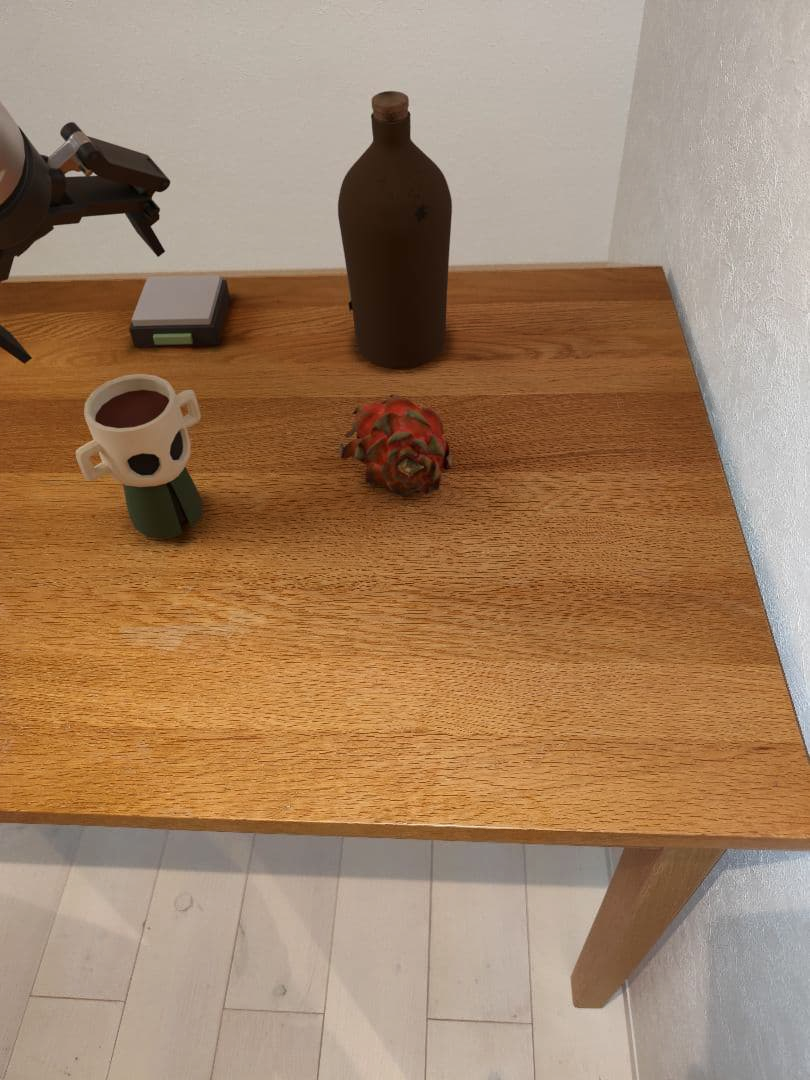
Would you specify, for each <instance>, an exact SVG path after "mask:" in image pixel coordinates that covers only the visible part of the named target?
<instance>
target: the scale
mask: <svg viewBox="0 0 810 1080" xmlns="http://www.w3.org/2000/svg"><path fill="white" fill-rule="evenodd" d="M230 295H231V294H230V291H229V286H228V282H227V279H223V278H222V275H221V274H220V275H218V274H217V275H213V274H212V275H174V276H172V275H171V276H147V277H146V280H145V282H144V285H143V289H142V290H141V294H140V297H139V298H138V301H137V303H136V307H135V309H134V311H133V315H132V317H131V322H130V325H129V327H128V330H129V333H130V337H131V340H132V343H133V347H134V348H168V347H169V348H170V347H173V348H174V347H213V346H215V347H217V346H219V343H220V339H221V335H222V331H223V327H224V323H225V319H226V316H227V311H228V307H229V303H230V299H231V297H230Z"/></svg>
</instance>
